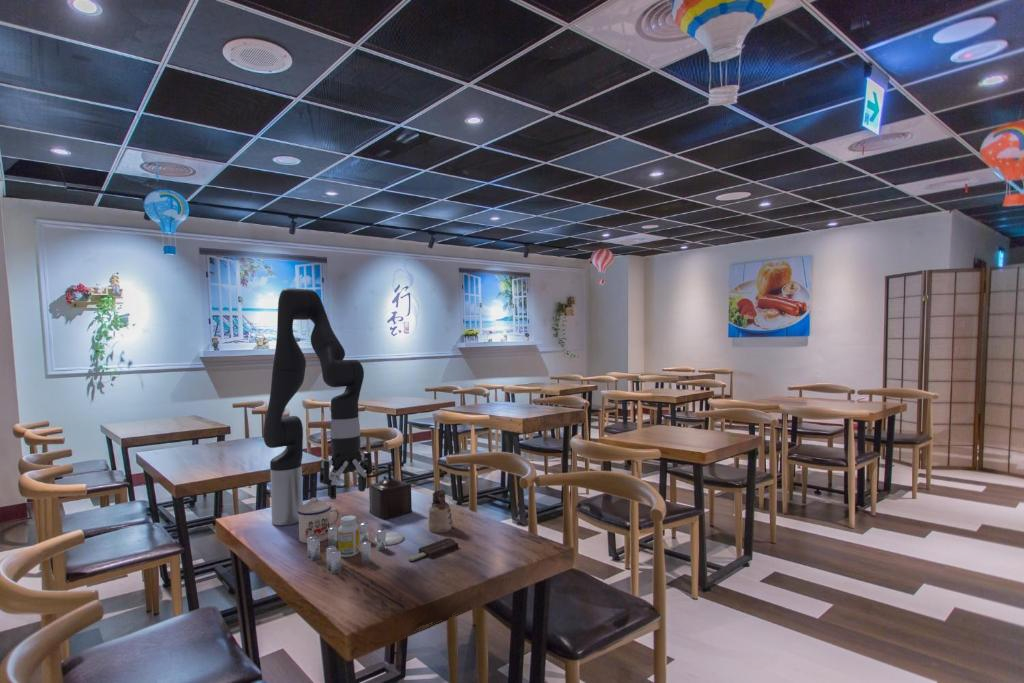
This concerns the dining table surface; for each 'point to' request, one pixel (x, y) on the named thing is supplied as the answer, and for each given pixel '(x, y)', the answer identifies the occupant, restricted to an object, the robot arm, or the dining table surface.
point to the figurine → (440, 513)
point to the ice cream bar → (435, 549)
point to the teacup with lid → (315, 519)
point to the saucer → (392, 538)
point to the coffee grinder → (389, 496)
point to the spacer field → (335, 555)
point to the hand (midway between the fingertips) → (347, 494)
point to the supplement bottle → (348, 536)
